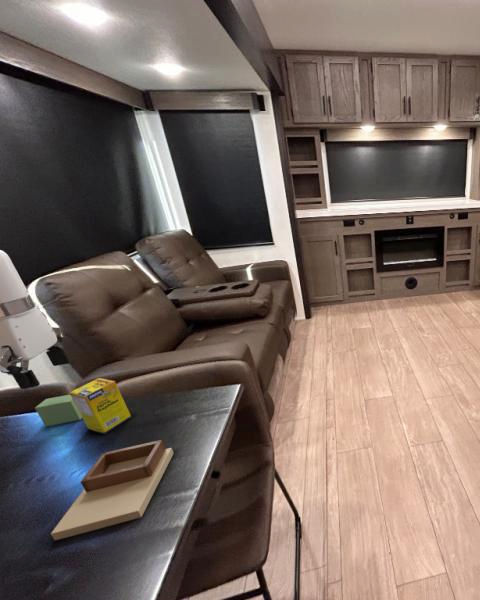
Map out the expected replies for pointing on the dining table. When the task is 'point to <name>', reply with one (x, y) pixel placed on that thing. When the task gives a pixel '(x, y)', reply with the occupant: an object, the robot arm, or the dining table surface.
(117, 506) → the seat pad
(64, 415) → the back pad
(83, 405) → the supplement box
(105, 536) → the dining table surface
